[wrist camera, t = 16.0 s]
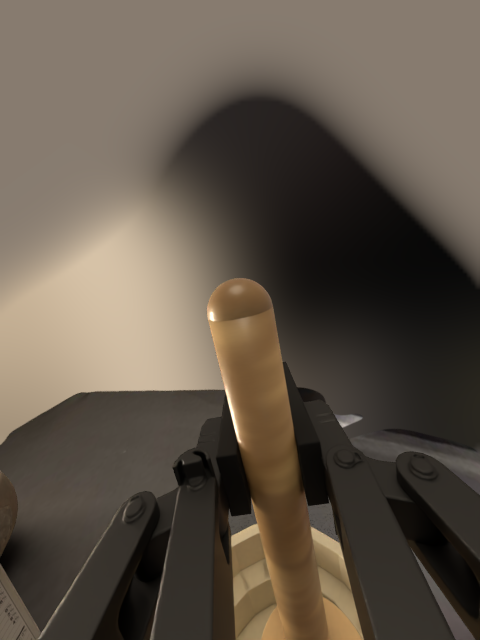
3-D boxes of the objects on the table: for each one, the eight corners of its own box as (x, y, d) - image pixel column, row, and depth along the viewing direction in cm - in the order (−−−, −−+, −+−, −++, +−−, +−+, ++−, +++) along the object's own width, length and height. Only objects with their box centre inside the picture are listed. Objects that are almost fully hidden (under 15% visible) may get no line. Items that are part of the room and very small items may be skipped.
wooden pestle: (353, 617, 16) (308, 260, 10) (421, 848, 9) (399, 253, 4) (263, 623, 16) (172, 288, 11) (271, 845, 10) (65, 320, 4)
